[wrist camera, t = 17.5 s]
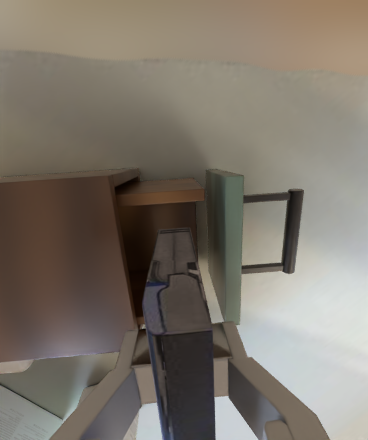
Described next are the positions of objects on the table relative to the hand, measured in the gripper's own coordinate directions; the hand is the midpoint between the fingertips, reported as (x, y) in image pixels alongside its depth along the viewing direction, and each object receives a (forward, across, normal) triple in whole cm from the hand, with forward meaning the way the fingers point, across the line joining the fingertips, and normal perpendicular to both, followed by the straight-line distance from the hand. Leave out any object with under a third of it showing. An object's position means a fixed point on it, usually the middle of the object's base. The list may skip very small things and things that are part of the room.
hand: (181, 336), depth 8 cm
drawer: (+14, -1, 0) cm, 14 cm away
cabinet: (+15, +11, 0) cm, 19 cm away
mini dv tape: (+3, 0, 0) cm, 3 cm away
